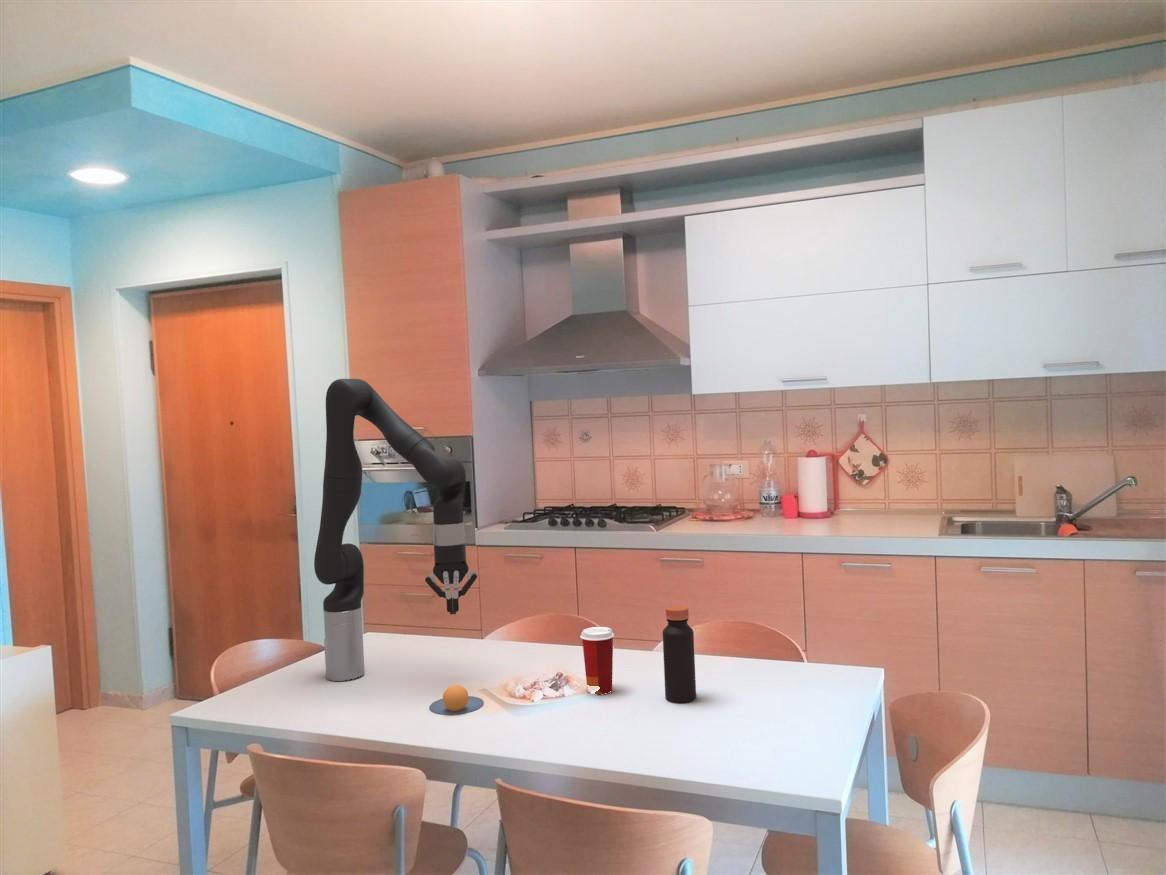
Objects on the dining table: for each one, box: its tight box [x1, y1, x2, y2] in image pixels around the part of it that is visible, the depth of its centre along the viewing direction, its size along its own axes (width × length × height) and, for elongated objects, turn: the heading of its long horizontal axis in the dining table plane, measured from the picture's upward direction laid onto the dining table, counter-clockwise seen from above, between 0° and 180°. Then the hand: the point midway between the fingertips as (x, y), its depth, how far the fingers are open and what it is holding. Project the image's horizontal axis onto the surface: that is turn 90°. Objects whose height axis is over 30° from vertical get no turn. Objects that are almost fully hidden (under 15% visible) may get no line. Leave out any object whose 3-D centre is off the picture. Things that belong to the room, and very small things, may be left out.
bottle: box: [662, 605, 697, 704], centre depth 189 cm, size 7×7×20 cm
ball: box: [442, 684, 470, 712], centre depth 188 cm, size 6×6×6 cm
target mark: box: [428, 695, 485, 716], centre depth 191 cm, size 12×12×1 cm
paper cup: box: [579, 626, 615, 695], centre depth 197 cm, size 8×8×14 cm
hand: (452, 613), depth 207 cm, fingers closed
